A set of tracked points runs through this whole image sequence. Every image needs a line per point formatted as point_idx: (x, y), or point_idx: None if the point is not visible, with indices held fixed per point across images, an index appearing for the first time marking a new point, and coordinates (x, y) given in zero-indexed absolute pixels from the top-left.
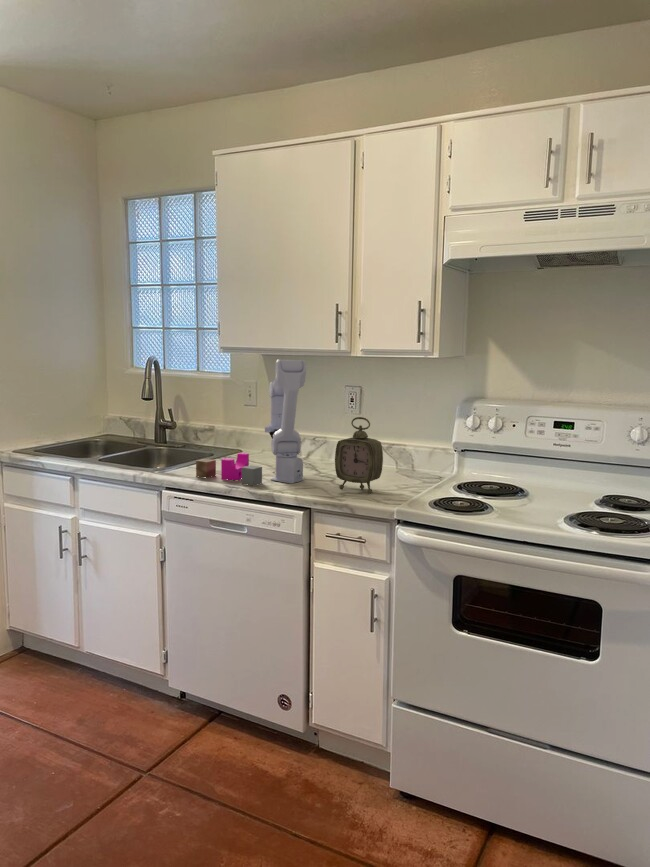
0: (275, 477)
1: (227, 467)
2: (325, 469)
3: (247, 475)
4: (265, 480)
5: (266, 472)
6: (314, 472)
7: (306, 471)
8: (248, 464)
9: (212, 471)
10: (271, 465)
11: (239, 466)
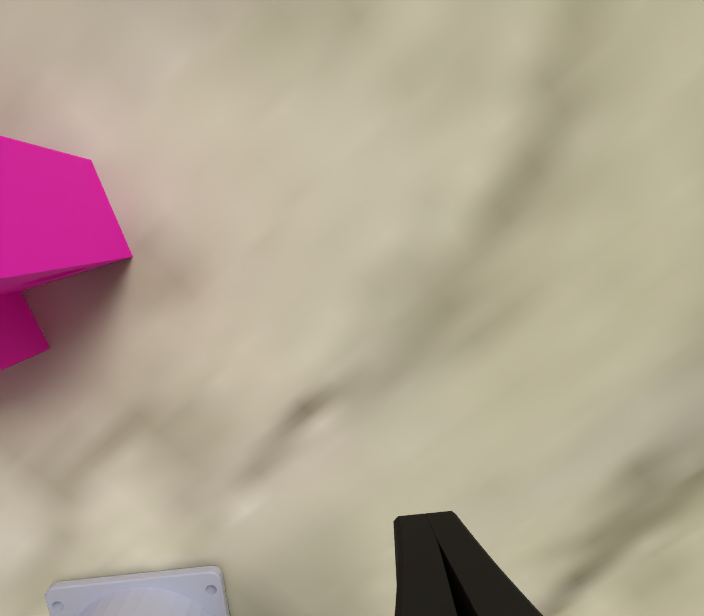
0: (113, 583)
1: None
2: (641, 599)
3: None
4: (29, 551)
5: (260, 366)
6: None
7: (500, 555)
8: (71, 268)
9: None
10: (547, 188)
11: None
